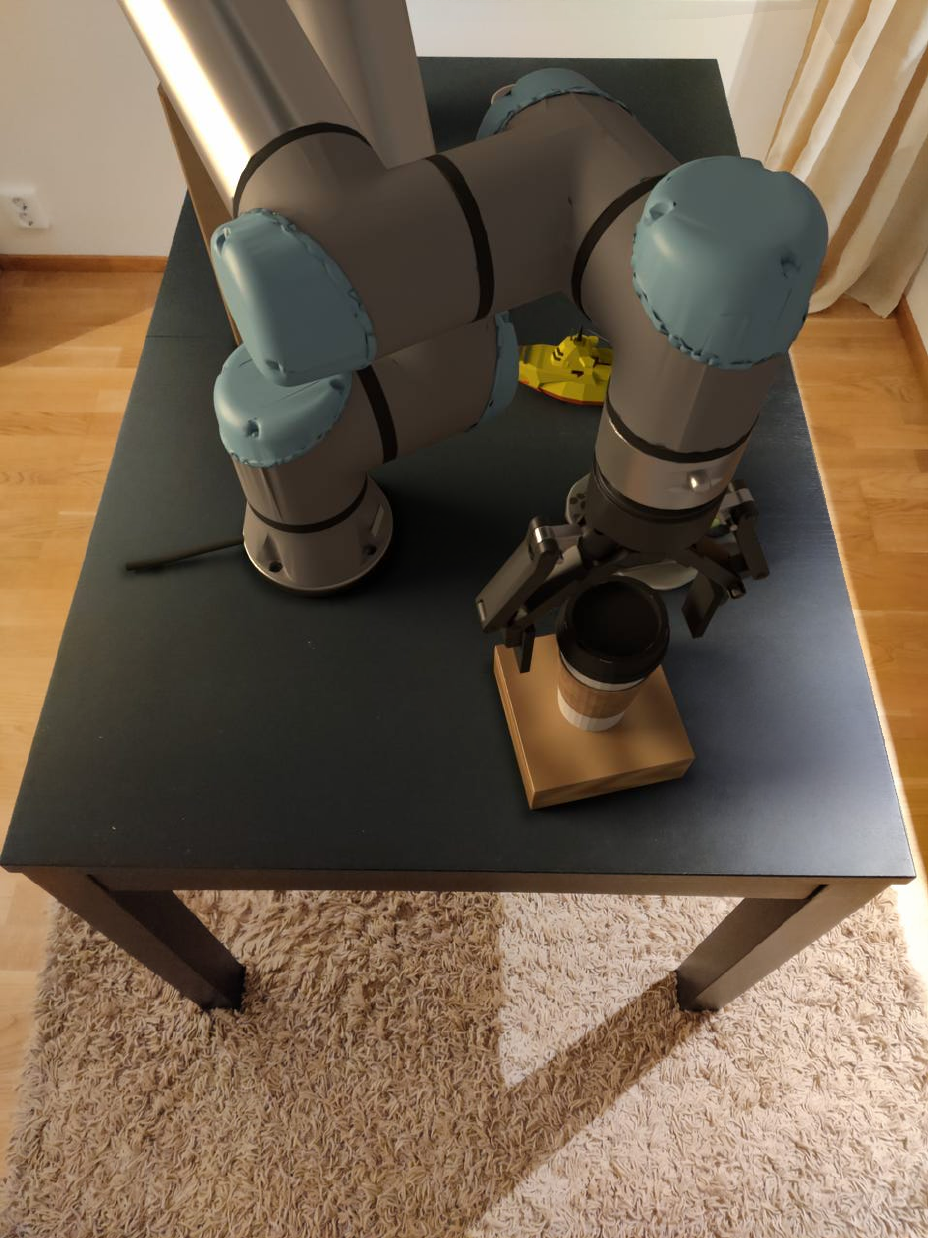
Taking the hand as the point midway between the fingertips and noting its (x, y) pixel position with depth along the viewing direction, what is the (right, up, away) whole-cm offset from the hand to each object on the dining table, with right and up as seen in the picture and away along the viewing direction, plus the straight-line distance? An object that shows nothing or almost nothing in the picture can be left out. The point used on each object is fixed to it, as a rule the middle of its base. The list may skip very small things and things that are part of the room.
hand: (606, 639), depth 65 cm
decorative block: (-31, +37, +39) cm, 62 cm away
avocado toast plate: (+10, +12, +25) cm, 29 cm away
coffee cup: (0, -6, +9) cm, 11 cm away
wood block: (0, -8, +14) cm, 16 cm away
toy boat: (+3, +27, +34) cm, 43 cm away
